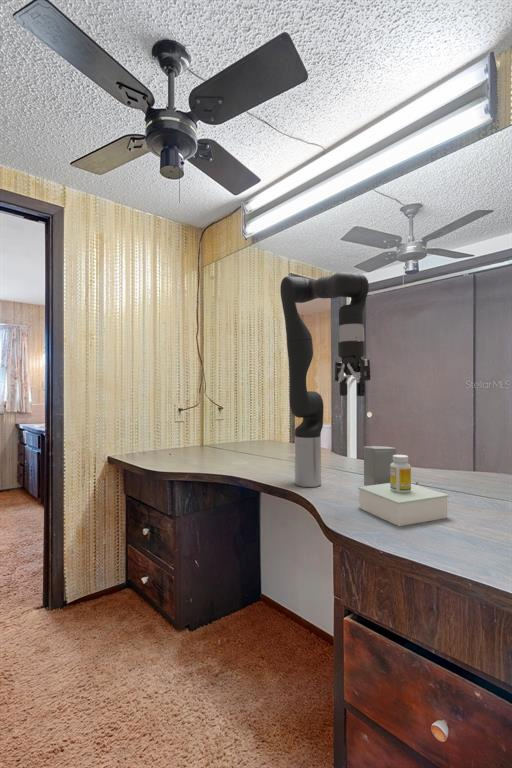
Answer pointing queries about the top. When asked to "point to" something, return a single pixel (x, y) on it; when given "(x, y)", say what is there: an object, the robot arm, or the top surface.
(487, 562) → the top surface
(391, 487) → the supplement bottle
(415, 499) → the podium
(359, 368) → the robot arm
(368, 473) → the skincare box
